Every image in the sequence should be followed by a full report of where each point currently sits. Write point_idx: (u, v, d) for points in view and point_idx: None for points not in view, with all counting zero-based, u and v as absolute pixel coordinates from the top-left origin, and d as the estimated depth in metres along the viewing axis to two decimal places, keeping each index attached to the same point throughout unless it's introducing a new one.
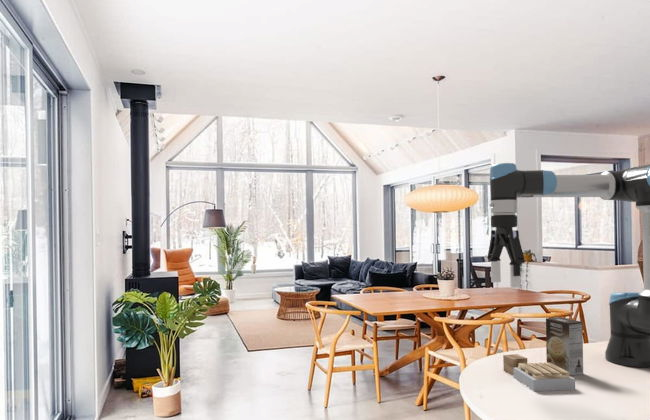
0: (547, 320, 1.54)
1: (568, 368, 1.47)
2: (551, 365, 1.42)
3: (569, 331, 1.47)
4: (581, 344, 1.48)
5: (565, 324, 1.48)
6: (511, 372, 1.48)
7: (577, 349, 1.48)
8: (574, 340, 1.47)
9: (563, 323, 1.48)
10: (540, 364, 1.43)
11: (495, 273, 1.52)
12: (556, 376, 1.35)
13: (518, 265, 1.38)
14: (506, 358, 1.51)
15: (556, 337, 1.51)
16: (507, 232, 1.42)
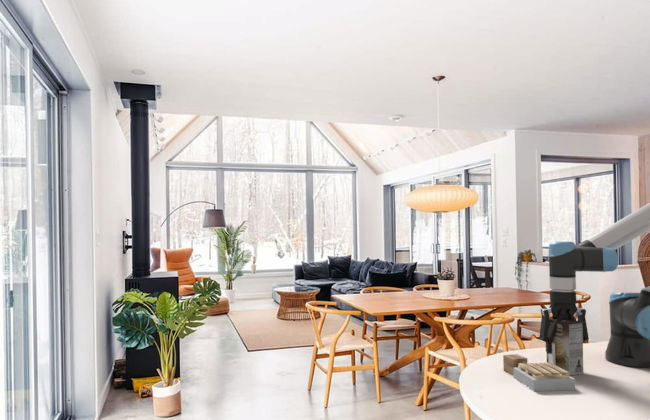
0: None
1: (568, 368, 1.47)
2: (551, 365, 1.42)
3: (569, 331, 1.47)
4: (581, 344, 1.48)
5: (565, 324, 1.48)
6: (511, 372, 1.48)
7: (577, 349, 1.48)
8: (574, 340, 1.47)
9: (563, 323, 1.48)
10: (540, 364, 1.43)
11: None
12: (556, 376, 1.35)
13: (547, 343, 1.51)
14: (506, 358, 1.51)
15: (556, 337, 1.51)
16: (549, 308, 1.53)
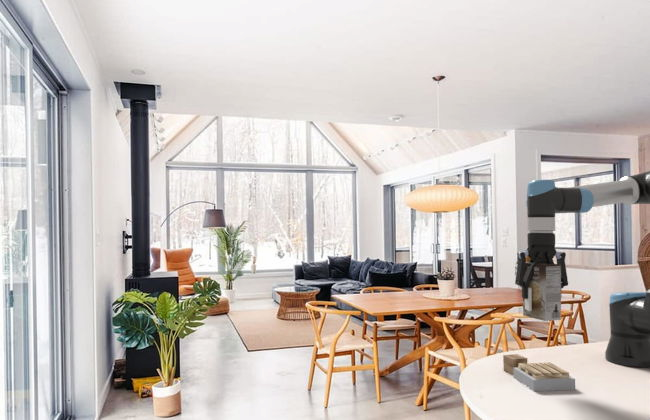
0: None
1: (544, 312, 1.37)
2: (551, 365, 1.42)
3: (546, 274, 1.37)
4: (559, 288, 1.39)
5: (542, 266, 1.38)
6: (511, 372, 1.48)
7: (554, 293, 1.38)
8: (551, 283, 1.38)
9: (540, 265, 1.39)
10: (540, 364, 1.43)
11: None
12: (556, 376, 1.35)
13: (523, 288, 1.41)
14: (506, 358, 1.51)
15: (533, 281, 1.41)
16: (526, 251, 1.43)
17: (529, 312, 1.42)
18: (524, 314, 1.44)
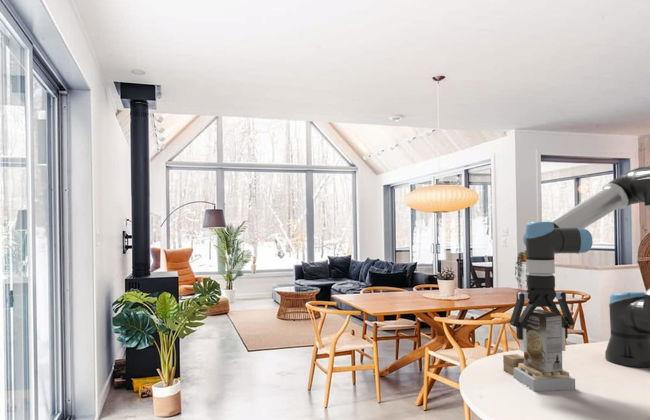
0: None
1: (545, 364, 1.35)
2: None
3: (547, 325, 1.35)
4: (560, 338, 1.37)
5: (542, 317, 1.36)
6: (511, 372, 1.48)
7: (555, 344, 1.36)
8: (551, 334, 1.36)
9: (540, 315, 1.37)
10: None
11: None
12: (556, 376, 1.35)
13: (517, 328, 1.39)
14: (506, 358, 1.51)
15: (533, 330, 1.39)
16: (526, 293, 1.41)
17: (530, 362, 1.40)
18: (525, 363, 1.42)
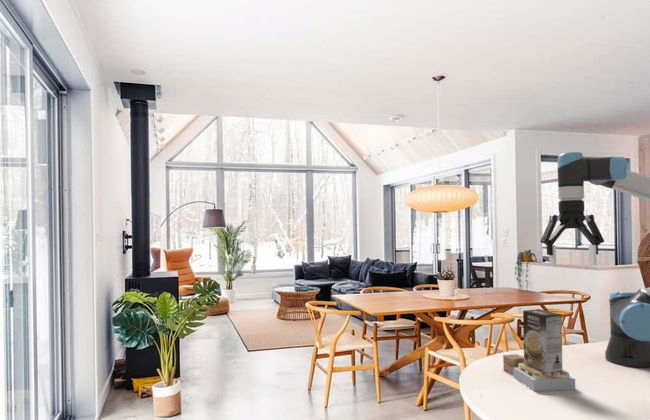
0: (524, 312, 1.42)
1: (545, 364, 1.35)
2: None
3: (547, 325, 1.35)
4: (560, 338, 1.37)
5: (542, 317, 1.36)
6: (511, 372, 1.48)
7: (555, 344, 1.36)
8: (551, 334, 1.36)
9: (540, 315, 1.37)
10: None
11: (590, 256, 1.58)
12: (556, 376, 1.35)
13: (547, 245, 1.56)
14: (506, 358, 1.51)
15: (533, 330, 1.39)
16: None
17: (530, 362, 1.40)
18: (525, 363, 1.42)
